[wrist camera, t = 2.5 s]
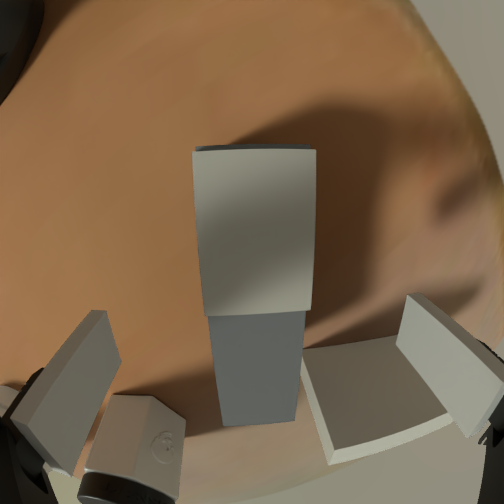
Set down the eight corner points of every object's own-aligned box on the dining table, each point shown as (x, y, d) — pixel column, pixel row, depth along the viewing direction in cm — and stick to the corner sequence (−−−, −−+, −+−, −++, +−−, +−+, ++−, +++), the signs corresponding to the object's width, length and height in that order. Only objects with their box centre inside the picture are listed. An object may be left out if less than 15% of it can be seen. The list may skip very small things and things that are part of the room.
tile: (299, 349, 22) (334, 450, 12) (403, 333, 22) (463, 404, 13) (298, 368, 22) (327, 466, 13) (398, 351, 23) (451, 423, 13)
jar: (203, 428, 24) (199, 530, 13) (154, 447, 25) (140, 531, 14) (136, 379, 22) (100, 492, 10) (92, 404, 23) (58, 492, 11)
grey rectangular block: (210, 154, 17) (192, 145, 9) (276, 152, 17) (315, 144, 9) (223, 345, 21) (222, 433, 13) (275, 342, 21) (296, 427, 13)
